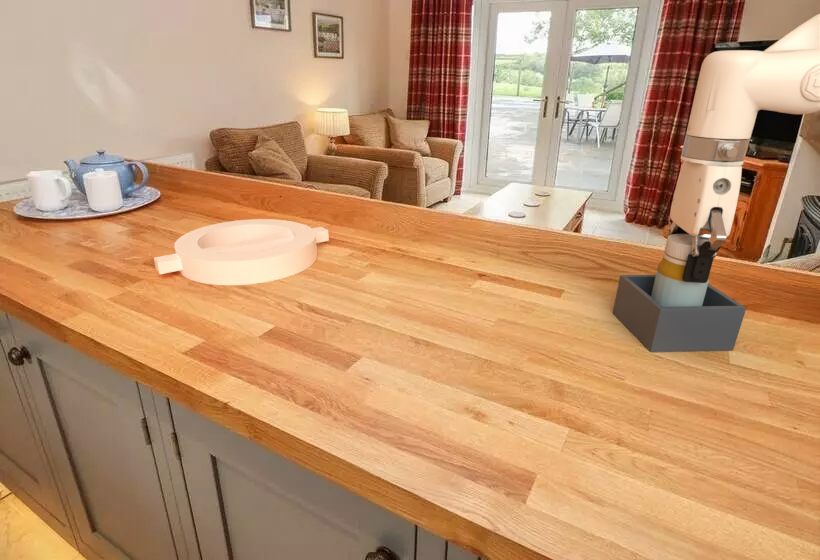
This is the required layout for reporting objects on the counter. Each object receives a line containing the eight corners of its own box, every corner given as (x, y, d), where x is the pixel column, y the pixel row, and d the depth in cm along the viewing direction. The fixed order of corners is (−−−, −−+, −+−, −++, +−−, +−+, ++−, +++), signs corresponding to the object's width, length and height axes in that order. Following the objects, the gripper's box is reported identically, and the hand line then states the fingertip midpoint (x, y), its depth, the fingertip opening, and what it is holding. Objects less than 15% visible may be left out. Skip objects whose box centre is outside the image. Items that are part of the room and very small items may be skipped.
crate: (684, 311, 84) (694, 274, 81) (733, 350, 72) (746, 307, 69) (612, 313, 83) (619, 274, 80) (650, 352, 71) (660, 309, 69)
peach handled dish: (332, 241, 115) (331, 222, 113) (289, 290, 90) (287, 265, 88) (220, 235, 119) (217, 216, 117) (148, 280, 93) (143, 256, 91)
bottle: (666, 344, 74) (689, 249, 68) (635, 322, 80) (654, 234, 74) (704, 338, 75) (730, 245, 69) (670, 318, 82) (692, 231, 76)
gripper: (779, 162, 58) (738, 297, 65) (715, 143, 74) (687, 253, 81) (712, 160, 59) (678, 293, 66) (662, 141, 75) (640, 250, 82)
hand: (683, 270), depth 74 cm, fingers open, 7 cm apart
